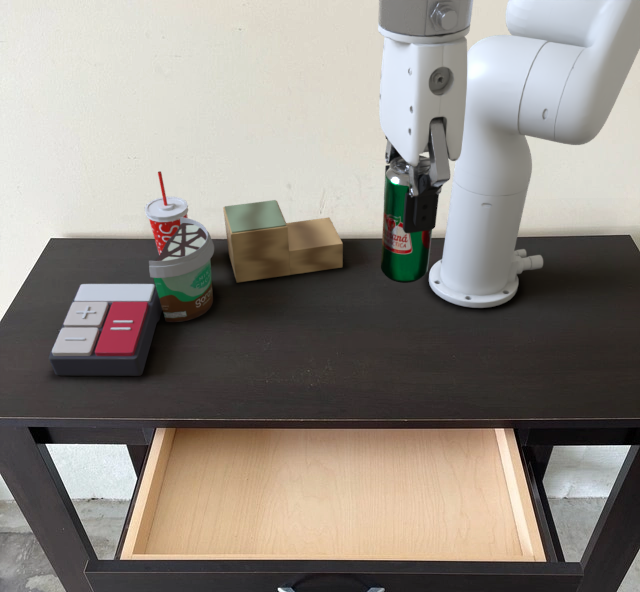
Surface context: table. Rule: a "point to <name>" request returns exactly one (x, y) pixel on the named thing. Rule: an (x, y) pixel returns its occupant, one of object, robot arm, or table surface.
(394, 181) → the soda can
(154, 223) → the beverage cup
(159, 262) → the food container
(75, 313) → the calculator
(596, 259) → the table surface
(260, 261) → the riser
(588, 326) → the table surface
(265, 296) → the table surface
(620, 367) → the table surface
